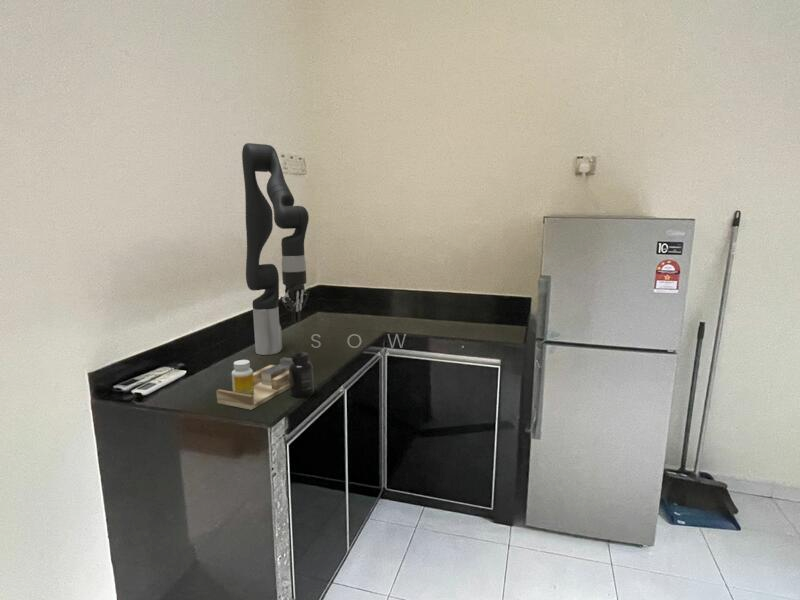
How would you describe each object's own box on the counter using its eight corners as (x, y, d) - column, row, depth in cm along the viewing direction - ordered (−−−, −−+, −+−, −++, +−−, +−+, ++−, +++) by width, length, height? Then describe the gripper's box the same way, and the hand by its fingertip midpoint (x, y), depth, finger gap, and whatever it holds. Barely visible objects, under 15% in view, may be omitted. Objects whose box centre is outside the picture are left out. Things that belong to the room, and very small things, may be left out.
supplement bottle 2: (315, 389, 144) (313, 350, 142) (312, 397, 137) (310, 357, 135) (292, 389, 144) (290, 351, 142) (288, 398, 137) (285, 358, 135)
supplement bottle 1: (229, 396, 135) (226, 362, 133) (247, 391, 139) (245, 357, 138) (239, 402, 132) (237, 366, 130) (258, 396, 136) (256, 361, 134)
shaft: (284, 371, 156) (283, 357, 155) (296, 373, 154) (296, 359, 153) (260, 383, 145) (259, 368, 144) (273, 386, 143) (272, 370, 142)
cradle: (269, 376, 155) (269, 364, 154) (300, 381, 150) (300, 368, 149) (217, 403, 134) (216, 388, 133) (251, 409, 129) (250, 395, 129)
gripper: (291, 272, 146) (293, 327, 149) (315, 267, 157) (317, 318, 161) (271, 271, 149) (274, 325, 152) (296, 266, 160) (299, 316, 164)
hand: (296, 322), depth 156 cm, fingers closed
